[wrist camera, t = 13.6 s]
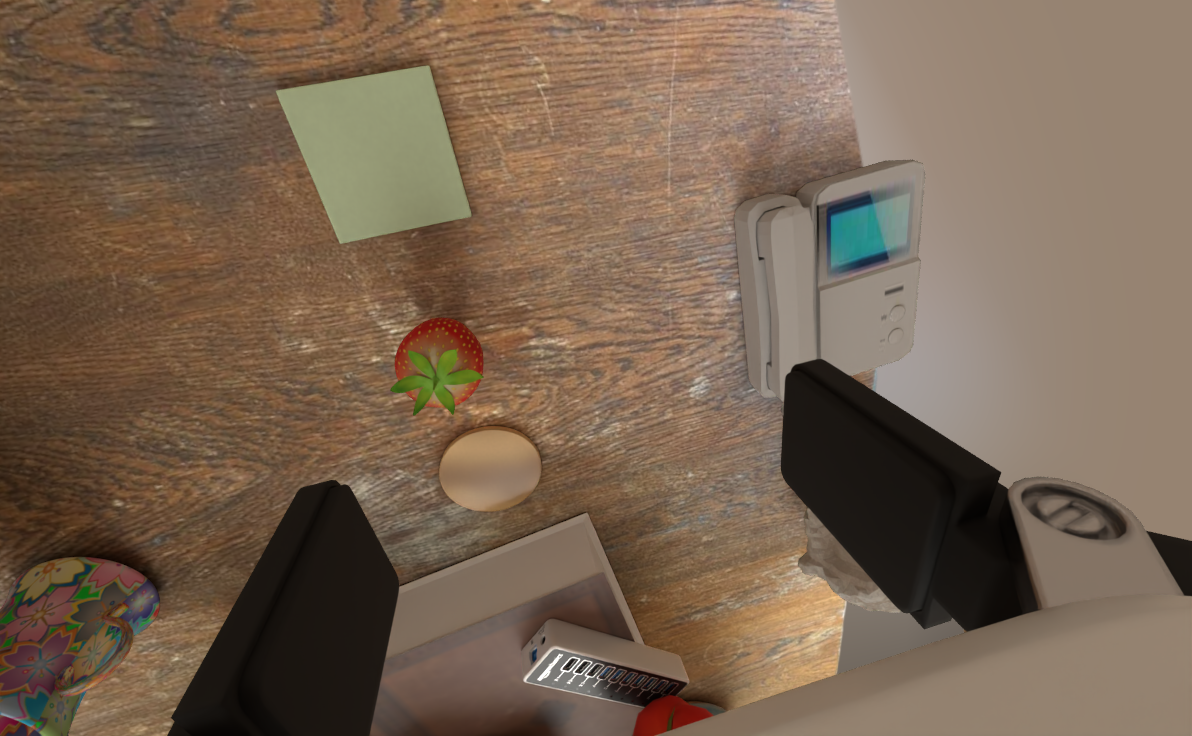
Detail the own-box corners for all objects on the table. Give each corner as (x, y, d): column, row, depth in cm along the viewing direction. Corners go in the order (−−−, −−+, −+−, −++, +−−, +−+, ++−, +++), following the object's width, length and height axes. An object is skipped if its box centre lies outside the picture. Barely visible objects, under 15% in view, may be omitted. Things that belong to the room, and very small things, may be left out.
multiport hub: (652, 685, 42) (660, 712, 40) (519, 652, 36) (520, 682, 34) (682, 655, 41) (692, 681, 39) (549, 617, 35) (553, 645, 33)
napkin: (278, 91, 24) (274, 90, 24) (429, 65, 25) (429, 64, 25) (341, 242, 28) (339, 243, 27) (472, 215, 28) (471, 216, 28)
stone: (818, 524, 35) (832, 396, 45) (771, 612, 46) (791, 494, 56) (1104, 622, 29) (1046, 450, 39) (970, 695, 40) (952, 547, 50)
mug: (84, 649, 36) (-61, 826, 26) (-22, 574, 31) (-242, 753, 22) (235, 592, 36) (146, 745, 27) (151, 512, 32) (11, 659, 23)
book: (461, 760, 52) (457, 836, 46) (322, 617, 39) (293, 697, 33) (658, 677, 53) (679, 741, 47) (587, 512, 40) (603, 572, 35)
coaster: (424, 441, 34) (423, 445, 34) (528, 414, 35) (529, 418, 35) (457, 518, 38) (456, 523, 37) (550, 491, 39) (551, 496, 38)
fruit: (486, 372, 33) (484, 431, 26) (410, 373, 32) (387, 435, 25) (484, 300, 31) (482, 343, 24) (402, 299, 30) (375, 344, 23)
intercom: (783, 509, 39) (764, 209, 28) (756, 478, 42) (730, 204, 32) (921, 460, 40) (955, 155, 29) (883, 434, 44) (900, 156, 33)
